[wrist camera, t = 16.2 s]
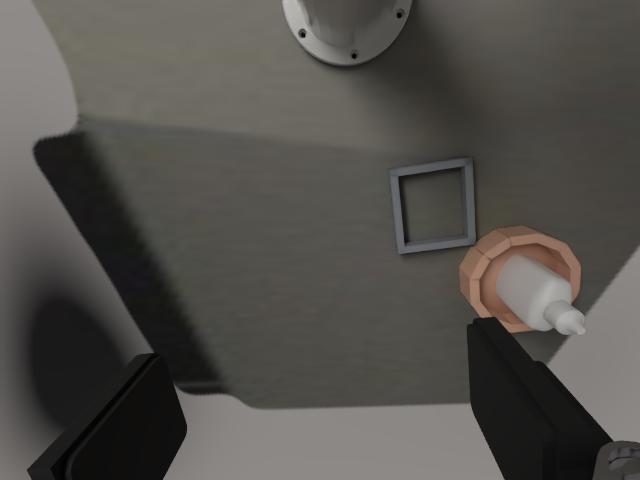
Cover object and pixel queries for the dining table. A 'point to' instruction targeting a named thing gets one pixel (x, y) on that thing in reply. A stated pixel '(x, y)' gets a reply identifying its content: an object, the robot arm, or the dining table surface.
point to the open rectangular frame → (467, 205)
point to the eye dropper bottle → (538, 296)
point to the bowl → (494, 252)
